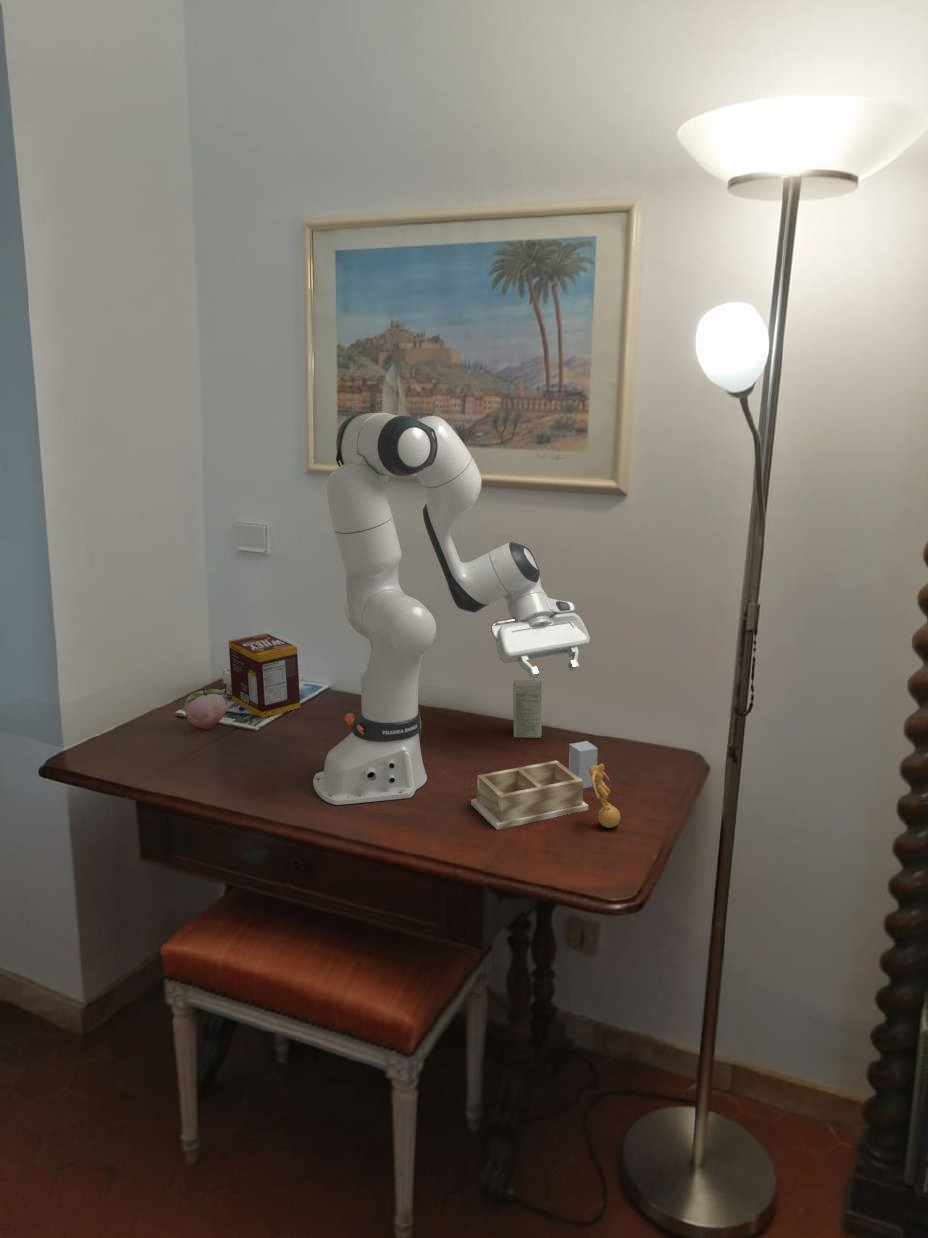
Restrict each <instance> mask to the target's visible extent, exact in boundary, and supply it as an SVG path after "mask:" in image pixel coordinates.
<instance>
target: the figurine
mask: <svg viewBox="0 0 928 1238" xmlns="http://www.w3.org/2000/svg"><path fill="white" fill-rule="evenodd" d="M605 769H606V768H605V765H604V764H603V763H600V764H597V765H593V766H591V767H590V768H589V773H590V775H591V777H592V778H591V783H592V786H593V787H592V788H593V790H594V792H595V796H596V799H597V800H600V804H601V805H602V807H601V808H600V809H599V811H598V813H597V819H598V820H597V821H598V822H599V824H601V826H602V827H605V828H608V829H611V828H615V827H616V826H617V825H618V824H619V823H620V821H621V813H620V810H619V809H618V808H617V807H615V806H613V805H612V803H610V802H608V800H607V799H608V798H609V795H610V793H611V790H610V788H609V787H608V786H607V785H606V783H605V782H604V780H603V778H604V777H605V778H606V780H607V781H608V782H609V781H610V778H609V776H608V775H607V774H606V772H605V771H604V770H605ZM594 781H595V783H594ZM595 784H596V786H595ZM601 795H602V797H601Z"/></svg>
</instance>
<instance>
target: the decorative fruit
mask: <svg viewBox="0 0 928 1238" xmlns="http://www.w3.org/2000/svg"><path fill="white" fill-rule="evenodd" d="M221 694H226V692H224V691H223V690H222V689H217V688H210V689H207V690H205V687H202V690H201V691H196V692H194V693H192V694H190V695H188V697H187V698H186V699H185V700H184V713H185V717H186V718H187V720H188V721H189V723H191V725H192V726H194V727H196V728H199V729H203V730H209V729H211V728H213V727H214V726H216V725H217V724H219V722H220V721H221V720H222V719H223V718H224V717H225V714H226V712H227V709H228V708H227V701H226V699H225V697H223V696H222V695H221Z"/></svg>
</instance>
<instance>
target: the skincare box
mask: <svg viewBox="0 0 928 1238" xmlns="http://www.w3.org/2000/svg"><path fill="white" fill-rule="evenodd" d="M542 686H543V685H542V680H538V679H536V680H535V679H534V680H532V679H531V680H529V679H514V681H513V685H512V687H513V688H512V690H513V693H512V698H513V699H512V700H513V704H512V705H513V707H512V709H513V737H514V738H535V739H538V738H542V726H543V725H542V723H543V721H542V715H543V714H542V712H543V710H542V707H543V706H542V705H543V704H542V700H543V699H542V698H543V697H542V694H543V692H542Z"/></svg>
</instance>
